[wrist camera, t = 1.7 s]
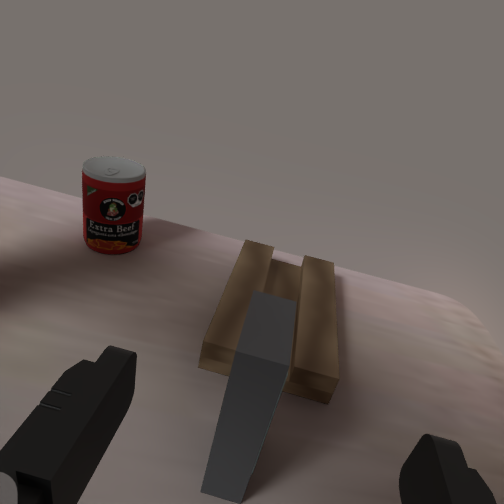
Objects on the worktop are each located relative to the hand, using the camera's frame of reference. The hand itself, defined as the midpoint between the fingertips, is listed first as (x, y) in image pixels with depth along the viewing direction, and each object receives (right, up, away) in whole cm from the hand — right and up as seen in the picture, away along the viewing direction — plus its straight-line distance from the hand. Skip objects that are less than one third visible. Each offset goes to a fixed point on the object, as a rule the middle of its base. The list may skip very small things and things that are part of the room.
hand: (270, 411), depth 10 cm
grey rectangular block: (-2, -12, +19) cm, 23 cm away
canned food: (-20, +6, +43) cm, 48 cm away
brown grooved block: (+2, -4, +36) cm, 36 cm away
